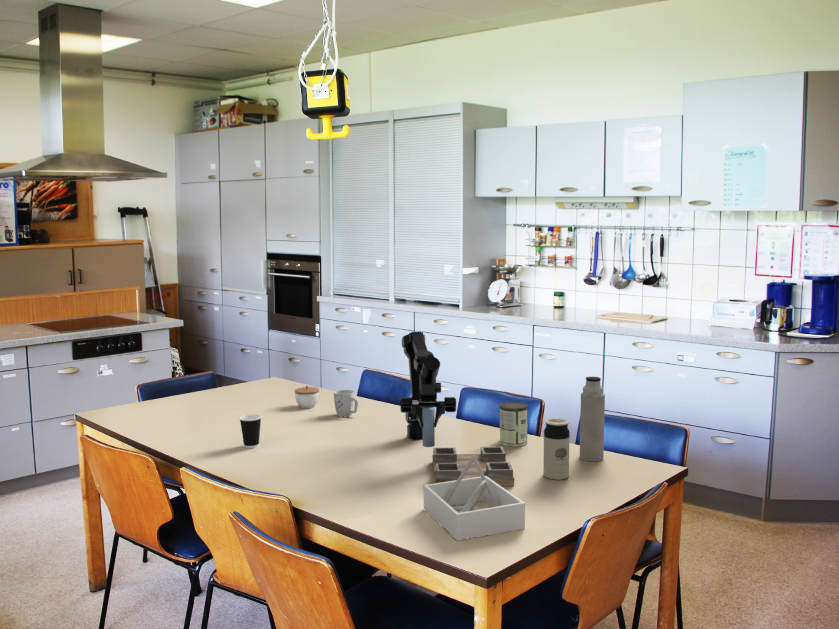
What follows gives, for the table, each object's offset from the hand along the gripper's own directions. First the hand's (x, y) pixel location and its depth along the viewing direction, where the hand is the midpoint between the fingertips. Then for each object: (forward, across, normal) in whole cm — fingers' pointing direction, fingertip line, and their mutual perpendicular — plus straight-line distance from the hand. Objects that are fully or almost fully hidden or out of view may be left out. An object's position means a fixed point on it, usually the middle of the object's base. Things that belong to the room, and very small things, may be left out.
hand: (428, 427), depth 237 cm
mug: (-37, -34, +57) cm, 76 cm away
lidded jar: (-48, -53, +68) cm, 99 cm away
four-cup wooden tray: (+14, +14, +5) cm, 20 cm away
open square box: (+40, +11, -21) cm, 46 cm away
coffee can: (-9, +31, +29) cm, 43 cm away
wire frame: (+39, +10, -20) cm, 45 cm away
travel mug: (+17, +40, +3) cm, 44 cm away
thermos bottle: (+4, +56, +16) cm, 58 cm away
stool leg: (+4, 0, +6) cm, 7 cm away
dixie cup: (-7, -64, +27) cm, 70 cm away
